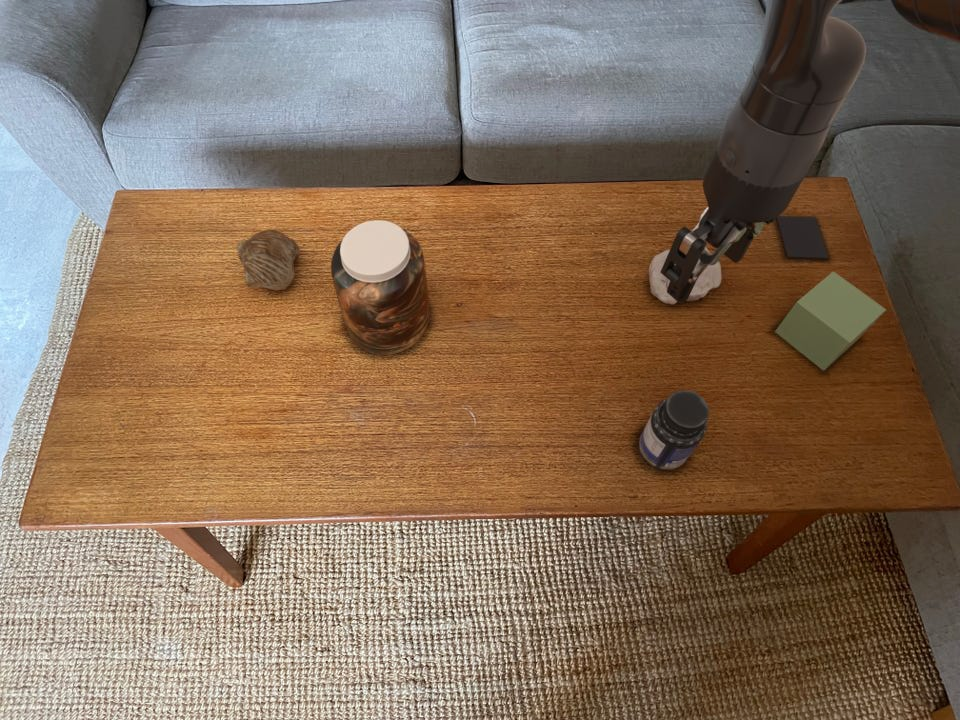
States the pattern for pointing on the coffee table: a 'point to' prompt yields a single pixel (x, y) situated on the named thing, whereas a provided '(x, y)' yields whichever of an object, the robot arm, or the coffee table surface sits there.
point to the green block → (829, 320)
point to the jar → (381, 287)
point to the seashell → (268, 259)
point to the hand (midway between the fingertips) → (704, 276)
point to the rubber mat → (802, 238)
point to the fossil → (660, 282)
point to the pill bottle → (674, 430)
